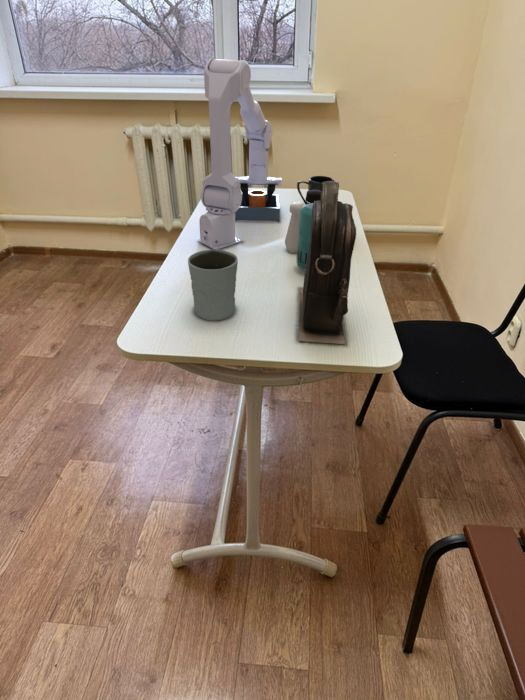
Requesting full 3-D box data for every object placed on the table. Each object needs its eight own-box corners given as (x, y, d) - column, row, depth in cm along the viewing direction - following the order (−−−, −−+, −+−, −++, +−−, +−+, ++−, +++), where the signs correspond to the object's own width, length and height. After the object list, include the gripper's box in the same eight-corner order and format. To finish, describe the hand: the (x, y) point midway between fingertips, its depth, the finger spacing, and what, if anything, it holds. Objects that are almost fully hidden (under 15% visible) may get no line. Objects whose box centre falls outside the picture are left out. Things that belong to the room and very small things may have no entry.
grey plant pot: (195, 324, 98) (192, 272, 91) (187, 301, 106) (184, 251, 99) (243, 318, 100) (243, 266, 93) (232, 296, 108) (231, 246, 101)
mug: (294, 204, 161) (295, 175, 156) (328, 204, 162) (331, 175, 156) (296, 212, 154) (298, 182, 149) (333, 212, 155) (336, 183, 150)
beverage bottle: (322, 266, 122) (331, 188, 110) (318, 278, 117) (327, 197, 105) (298, 263, 123) (304, 185, 111) (292, 274, 118) (298, 193, 106)
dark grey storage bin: (279, 222, 147) (279, 208, 144) (235, 221, 146) (235, 207, 144) (277, 207, 158) (278, 194, 155) (237, 206, 157) (237, 193, 155)
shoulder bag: (299, 288, 112) (310, 165, 96) (338, 290, 112) (355, 167, 95) (298, 342, 94) (311, 201, 77) (344, 345, 93) (367, 204, 77)
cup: (256, 217, 148) (256, 196, 145) (245, 212, 152) (245, 192, 148) (269, 213, 151) (270, 193, 148) (258, 208, 155) (258, 188, 151)
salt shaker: (305, 255, 127) (309, 207, 120) (284, 254, 127) (287, 206, 120) (304, 246, 132) (308, 200, 125) (284, 245, 132) (286, 199, 125)
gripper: (281, 160, 146) (279, 204, 154) (235, 159, 146) (235, 203, 154) (282, 166, 140) (280, 211, 148) (233, 165, 140) (234, 210, 148)
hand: (257, 207), depth 151 cm, fingers closed on cup, 5 cm apart
